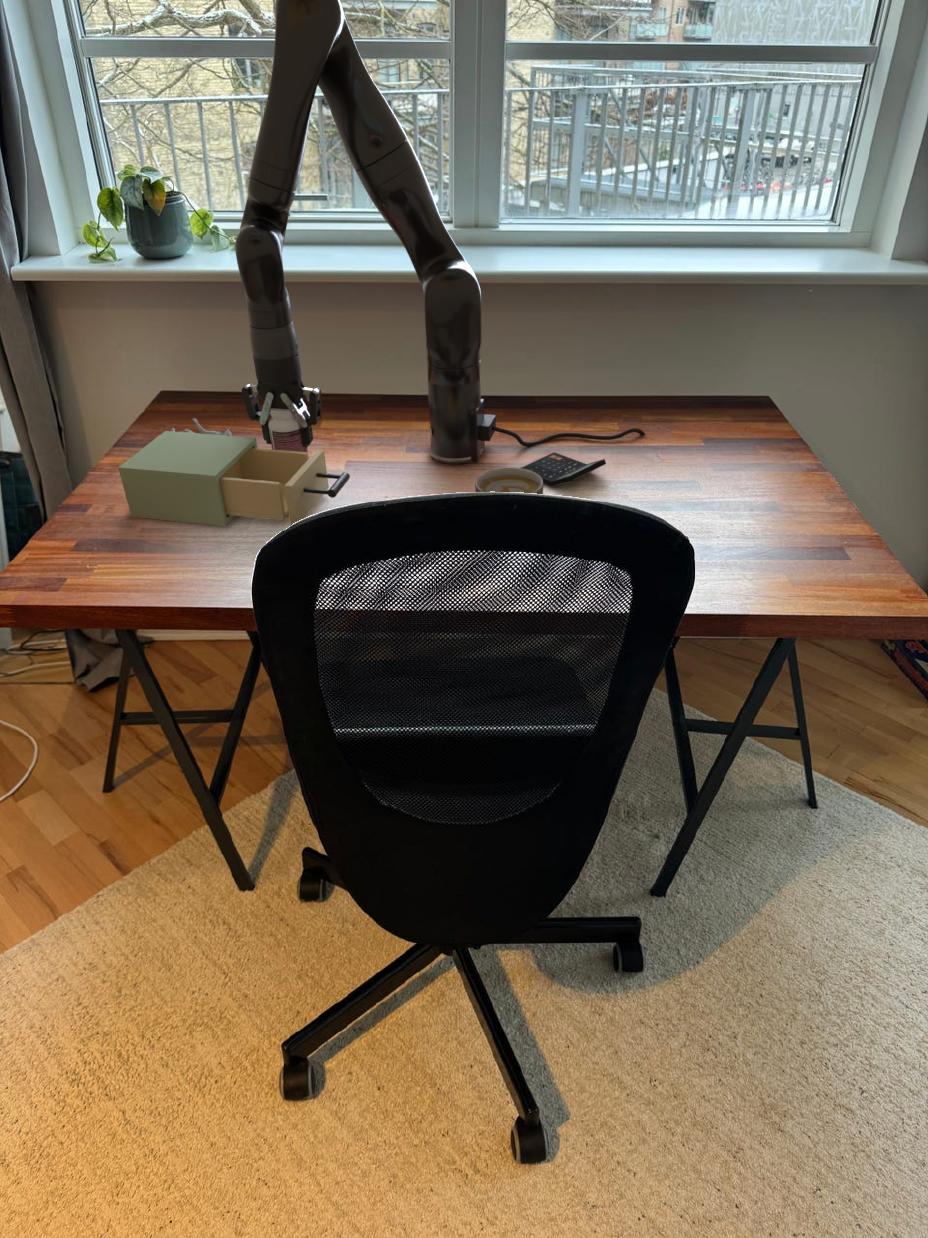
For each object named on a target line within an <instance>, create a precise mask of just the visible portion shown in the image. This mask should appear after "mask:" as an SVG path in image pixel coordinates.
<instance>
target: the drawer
mask: <svg viewBox="0 0 928 1238" xmlns="http://www.w3.org/2000/svg"><path fill="white" fill-rule="evenodd" d="M308 456H309V452H308V453H307V452H297V451H284V450H272V448H251V449H250V450H248V451H247V452H246V453H245V454H244V455H243V456H242V457H241V458H240V459H239V460H238V461H237V462H236V463H235V464H234V465H233V466H232V467H230V468H229V469H228V470H227V471H226V472H225V473H224V474H223V475H222V476H221V477H220V478H219V483H220V488H221V493H222V497H223V502H224V507H225V512H226V515H235V517H247V518H255V519H256V518H257V519H267V520H276V521H285V520H286V519H287V518H288V517H289V523H290V526H291V525H292V524H293V523H295V522H297V521H299V520H301V519H303V518H304V519H305V518H306V517H307V516H308V514H309V513H310V512H311V511H312V509H314V507H315V506H316V504H317V503H318V502H319V501H320V500H321V499H322V497H323V496H324V495H327V496H328V497H329V498H332V499H333V498H334V499H335V497H336V496H337V495H338V494H339V493H340V491H341V490H342V489H343V488H344V486H345V485H346V484H347V482H348V481H349V480H350V478H351V475H350V473H349V472H347V471H343V472H342V473H328V470H327V469H328V468H327V461H326V455H325V449H316V450H315V452H313V454H312V455H311V456H310V457H309V459H308ZM329 479H333V480H334V479H336V480H335V482H333V484H332V485H331V486H330V487H329ZM304 519H303V520H304Z"/></svg>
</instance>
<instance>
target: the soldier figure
mask: <svg viewBox="0 0 928 1238" xmlns="http://www.w3.org/2000/svg"><path fill="white" fill-rule="evenodd" d="M191 421H193V423H194V424H195V427H196V428H197V429H198V432H199V433H200V434H213V435H226V436H233V432H232V429H231V427H229V426H228V428H227V429H226V430H224V431H222V432H221V431H219V430H218V431H216V430H213V429H212V430H206V429H204V427H202V425H201V424H200V423H199V421H198V419H197V418H196V417H193V418H192V419H191ZM170 431H174V432H176V429H175V428H174V427H171V428H170ZM179 432H187V433H194V431H192V430H190V429H187V428H185V429H183V430H180V431H179Z"/></svg>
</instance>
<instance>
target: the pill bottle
mask: <svg viewBox="0 0 928 1238" xmlns="http://www.w3.org/2000/svg"><path fill="white" fill-rule="evenodd" d="M296 407H297V409H298V406H296ZM270 414H271V416H272V417H271V419H270V421H269V423H268V426H269V433H270V439H271V444H270V445H271V449H272V450H284V451H297V452H307V453H308V454H309V449H308V447H303V445H302V438H301V431H300V428H301V427H302V426H301V425H300V423H299V422H298V420H297V418H296V417H294V416H293V415H292V413H291V412H290V410H289V409H276V408H271V409H270ZM309 458H310V457H309V455H308V459H309Z"/></svg>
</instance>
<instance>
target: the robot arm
mask: <svg viewBox="0 0 928 1238" xmlns="http://www.w3.org/2000/svg"><path fill="white" fill-rule="evenodd" d="M274 18H275V27H274V28H275V30H274V48H273V49H274V50H273V60H272V68H271V69H272V70H271V75H270V82H269V88H268V93H267V98H266V103H265V107H264V111H263V115H262V119H261V123H260V126H259V131H258V135H257V139H256V143H255V147H254V152H253V157H252V162H251V166H250V172H249V177H248V184H247V199H246V202H245V205H244V206H245V207H244V210H243V214H242V218H241V223H240V226H239V230H238V232H237V235H236V237H235V242H234V251H235V258H236V264H237V268H238V272H239V276H240V280H241V283H242V287H243V290H244V294H245V307H246V312H247V318H248V324H249V338H250V339H249V340H250V346H251V352H252V359H253V363H254V371H255V377H256V380H257V384H253V382H248V383H247V384H245V385H244V386H243V387H242V388H241V393H242V397H243V401H244V404H245V408H246V412H247V414H248V418H249V420H250V421H256V422H258V423H259V424H260V427H261V432H262V438H263V440H264V441H265V442H266V444H267V445H271V439H270V433H269V426H268V423H269V421H270V419H271V418H273V417H272V416H271V414H270V409H271V408H276V409H289V410H290V412H291V413H292V415H293V416H294V417H296V418H297V420H298V422H299V423H300V425H301V426H302V427H301V428H300V431H301V438H302V445H303V447H307V448H309V447H310V445H311V444H312V442H314V434H313V433H314V432H313V426H316V425H317V424H318V422H319V421H321V420H322V389H321V388H320V387H319V386H316V387H314V388H311V387H306V386H305V384H304V382H303V379H302V368H301V361H300V353H299V343H298V338H297V332H296V329H295V325H294V321H293V314H292V306H291V299H290V295H289V291H288V289H287V288H286V282H285V271H284V262H283V249H284V243H285V238H286V232H287V228H288V222H289V215H290V209H291V208H292V205H293V203H294V201H295V197H296V193H297V192H296V191H297V189H298V184H299V181H300V180H299V179H300V176H301V172H302V167H303V163H304V162H303V161H304V158H305V157H304V156H305V151H306V146H307V139H308V132H309V125H310V120H311V119H310V118H311V113H312V109H313V104H314V99H315V96H316V92H317V89H318V88H319V89H320V91H321V94H322V95H323V98H324V99H325V101H326V103H327V106H328V109H329V111H330V114H331V116H332V119H333V122H334V124H335V125H334V126H335V127H336V131H337V133H338V135H339V138H340V140H341V143H342V146H343V147H344V151H345V152H346V155H347V158H348V159H349V161H350V163H351V166H352V167H353V169H354V171H355V173H356V176H357V177H358V178H359V180H360V183H361V184H362V186H363V188H364V190H365V192H366V193H367V196H368V197H369V199H370V200H371V202H372V203H373V205H374V206H375V208H376V210H377V212H379V214H380V215H381V216H382V218H383V220H384V221H385V222H386V224H388V226H389V227H390V228H391V230H392V231H393V232H394V233H395V235H396V236H397V238H398V239H399V240H400V242H401V244H402V245H403V247H404V249H405V251H406V253H407V255H408V257H409V259H410V262H411V264H412V266H413V269H414V272H415V273H416V277H417V279H418V281H419V284H420V287H421V290H422V294H423V295H422V296H423V309H424V326H425V352H426V353H425V355H426V376H427V377H426V378H427V390H428V391H427V395H428V397H427V398H428V414H429V415H428V416H429V424H428V423H427V424H428V425H427V426H428V427H427V428H428V432H429V435H430V456H431V458H432V459H433V460H435V461H437V462H439V463H444V464H450V465H459V464H467V463H478V462H479V461H480V459H481V457H482V456H483V453H484V451H485V449H486V445H485V443H486V442H490V441H491V439H492V437H493V435H494V434H495V432H498V433H501V434H505V435H509V436H511V437H512V438H514V439H515V440H516V441H517V442H518V444H520V445H521V446H524V447H534V446H537V445H541V444H543V443H547V442H549V441H552V440H555V439H560V438H580V439H589V440H598V441H611V440H612V441H614V440H617V439H621V438H622V437H626V436H627V435H629V434H633V433H637V434H639V435H641V436H645V435H646V433H645V432H644V431H643V430H642V429H640V428H637V427H631V428H628V429H627V430H624V431H622V432H620V433H618V434H613V435H596V434H589V433H579V432H560V433H556V434H555V433H554V434H552V435H549V436H547V437H544V438H541V439H539V440H535V441H524V440H523V439H522V437H521V436H520V435H518V434H517V433H516V432H514V431H511V430H509V429H505V428H502V427H498V426H497V414H486V413H485V400H484V398H482V380H481V376H482V375H481V373H482V372H481V348H482V292H481V287H480V283H479V281H478V278H477V275H476V274H475V272H474V270H473V268H472V267H471V265H470V264H469V263H468V261H467V260H466V258H465V257H464V255H463V254H462V252H461V250H460V249H459V247H458V246H457V244H456V243H455V241H454V240H453V238H452V236H451V234H450V232H449V231H448V229H447V227H446V225H445V224H444V221H443V220H442V216H441V215H440V213H439V209H438V207H437V204H436V201H435V198H434V195H433V192H432V189H431V187H430V184H429V182H428V178H427V176H426V174H425V171H424V169H423V167H422V164H421V162H420V160H419V158H418V156H417V154H416V151H415V150H414V148H413V145H412V144H411V142H410V140H409V138H408V135H407V134H406V132H405V130H404V128H403V126H402V124H401V123H400V121H399V119H398V118H397V116H396V115H395V112H394V111H393V109H392V108H391V106H390V105H389V103H388V101H387V100H386V98H385V97H384V95H383V94H382V92H381V91H380V89H379V88H378V86H377V85H376V83H375V82H374V80H373V78H372V77H371V74H370V73H369V71H368V69H367V68H366V65H365V64H364V60H363V59H362V56H361V54H360V52H359V49H358V47H357V45H356V42H355V40H354V38H353V35H352V33H351V29H350V27H349V24H348V22H347V18H346V15H345V12H344V9H343V6H342V3H341V0H275V2H274ZM258 395H260V397H261V398H262V399H263V400H264V402H263V405H262V408H261V406H260V402H259V399H258ZM304 396H305V397H306V401H307V402H308V403H309V411H308V408H307V405H306V403H305V401H304V400H303V397H304ZM296 406H297V407H296ZM297 408H298V409H297Z"/></svg>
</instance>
